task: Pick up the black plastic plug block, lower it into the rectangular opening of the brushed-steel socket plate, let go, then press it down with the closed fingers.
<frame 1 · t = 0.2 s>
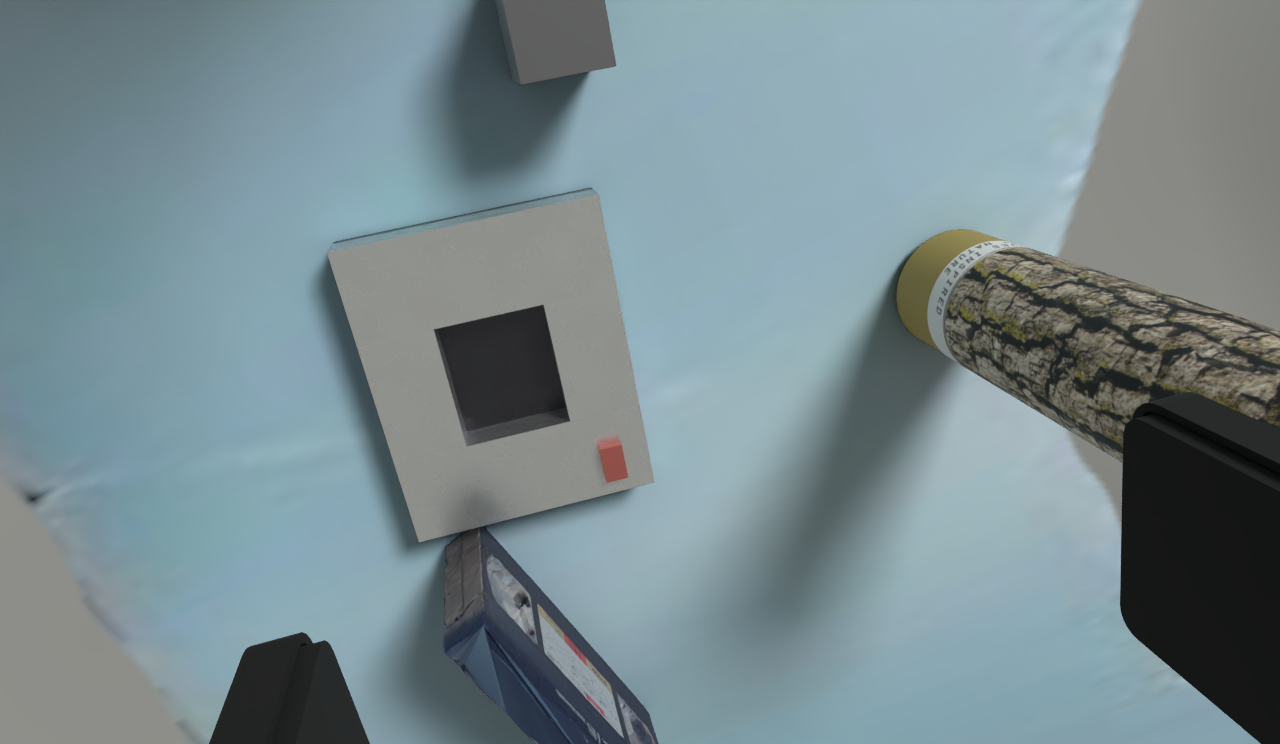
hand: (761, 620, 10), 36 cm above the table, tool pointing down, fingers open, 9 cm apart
vhs cassette tape: (553, 630, 53), on the table
paper tube: (943, 284, 50), on the table
socket plate: (502, 361, 46), on the table
plug: (541, 18, 41), on the table
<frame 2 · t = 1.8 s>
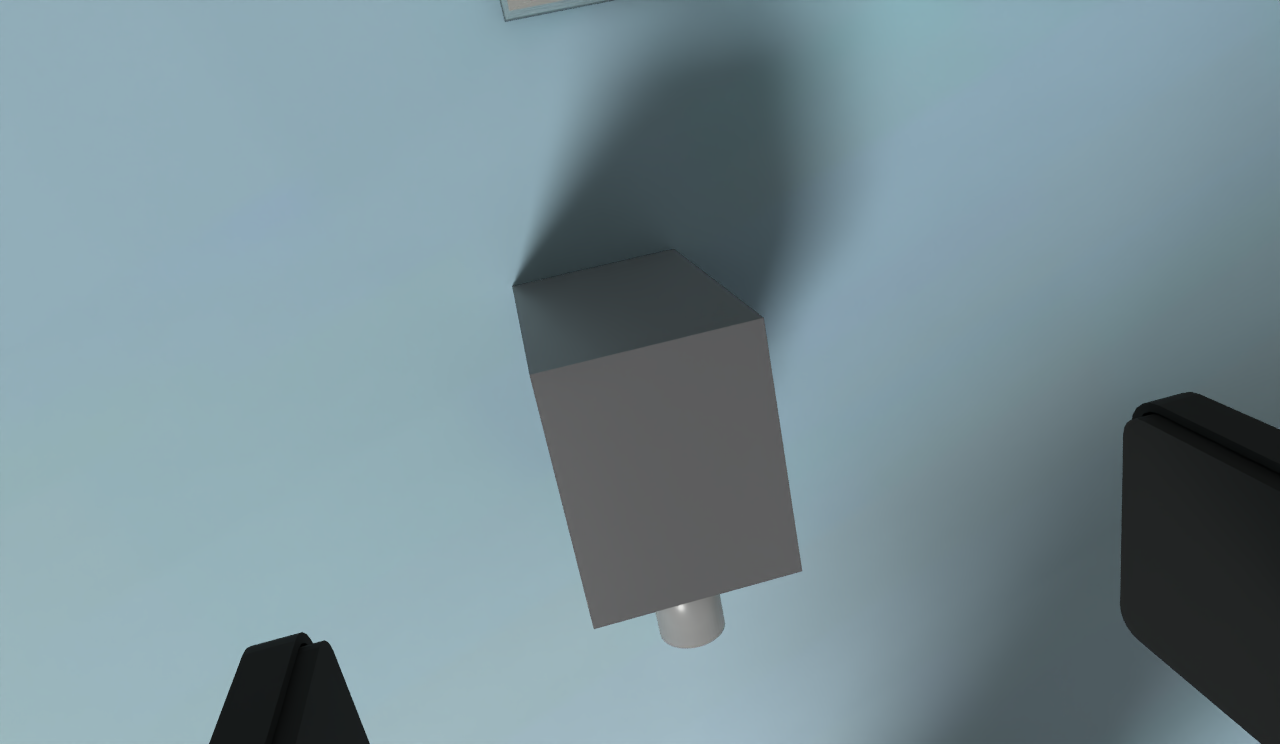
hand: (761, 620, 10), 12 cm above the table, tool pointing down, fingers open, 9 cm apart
plug: (614, 363, 22), on the table
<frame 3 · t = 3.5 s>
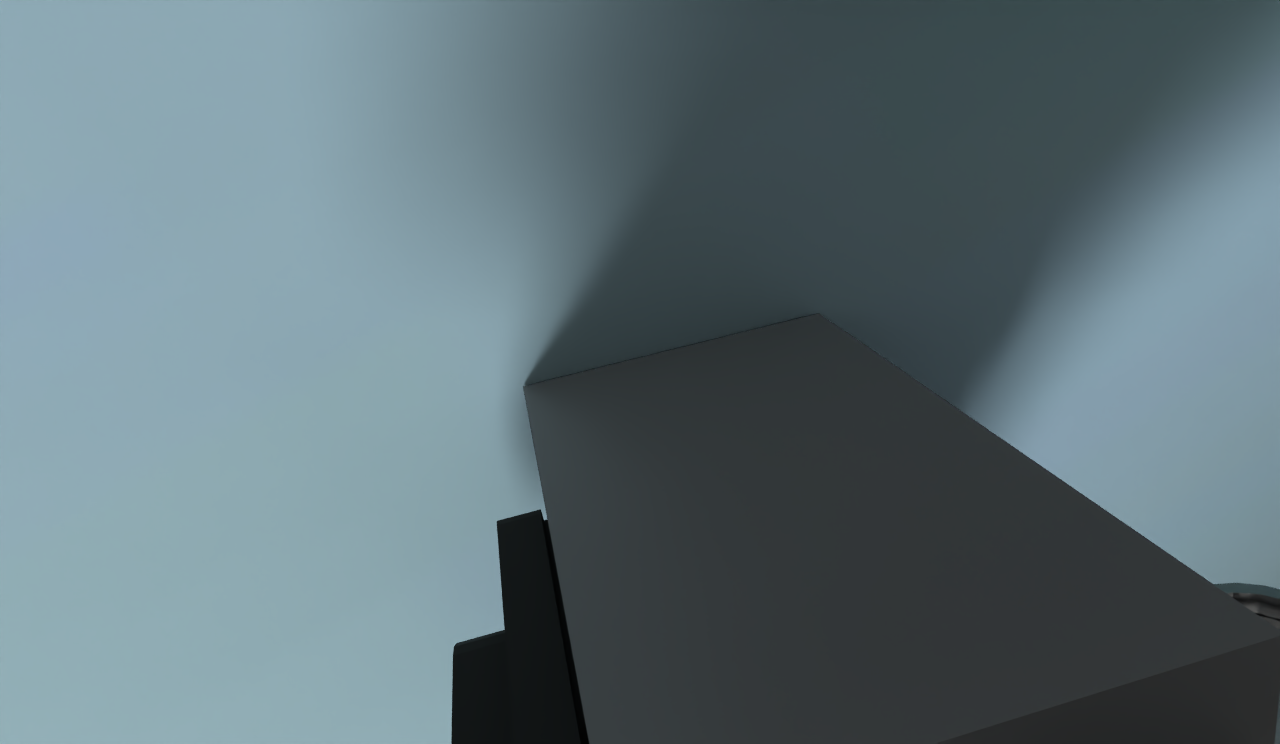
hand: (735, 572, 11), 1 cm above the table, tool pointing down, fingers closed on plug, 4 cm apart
plug: (704, 513, 12), on the table, touching gripper
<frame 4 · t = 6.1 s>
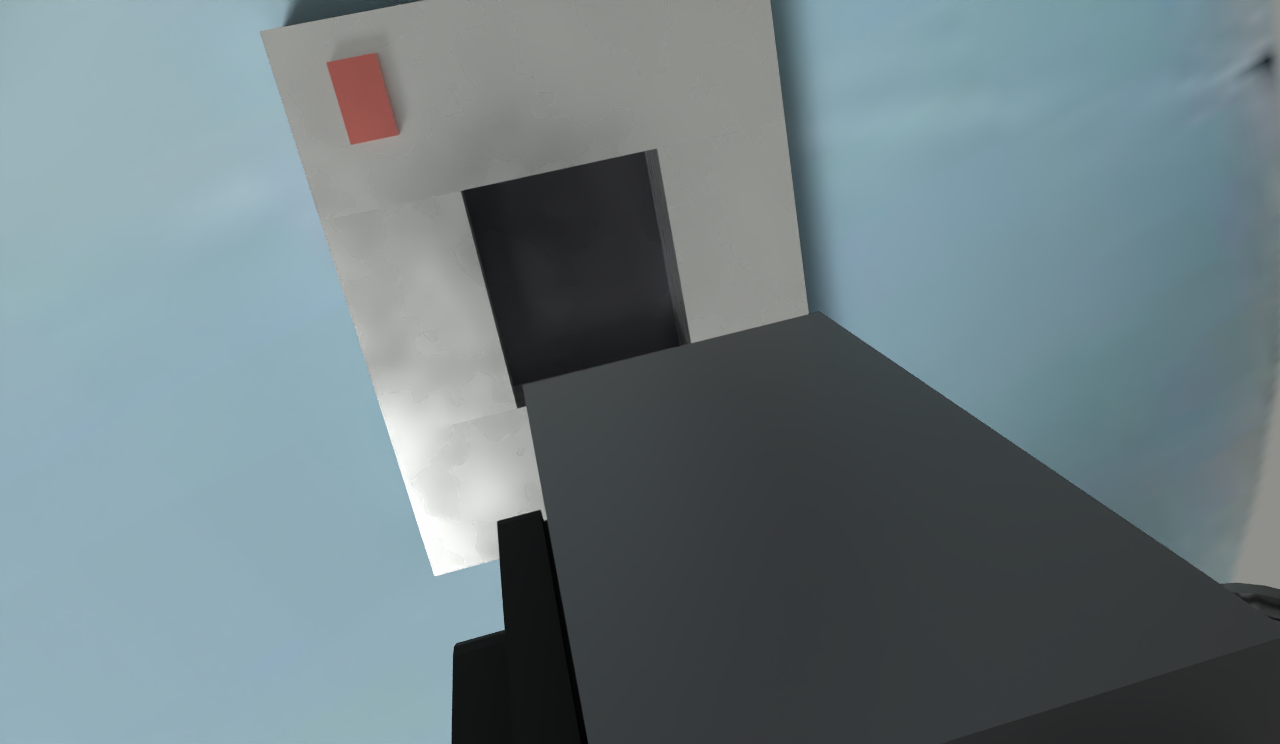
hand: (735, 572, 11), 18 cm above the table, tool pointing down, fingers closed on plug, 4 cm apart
socket plate: (574, 265, 27), on the table
plug: (704, 513, 12), point 16 cm above the table, touching gripper
when the fingers open (3 cm above the table, at t = 9.1 s): plug drops 2 cm, resting on socket plate.
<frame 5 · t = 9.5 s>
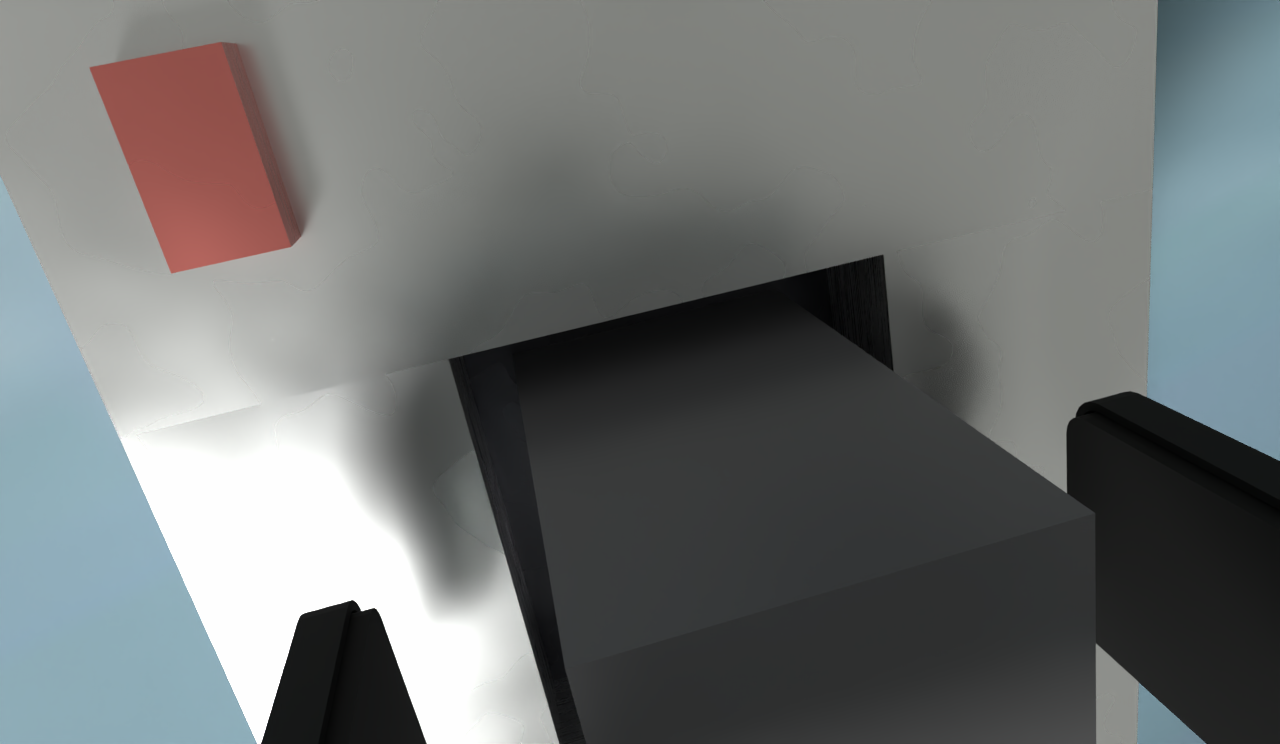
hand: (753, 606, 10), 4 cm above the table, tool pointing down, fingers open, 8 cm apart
socket plate: (672, 455, 14), on the table
plug: (676, 470, 13), resting on socket plate
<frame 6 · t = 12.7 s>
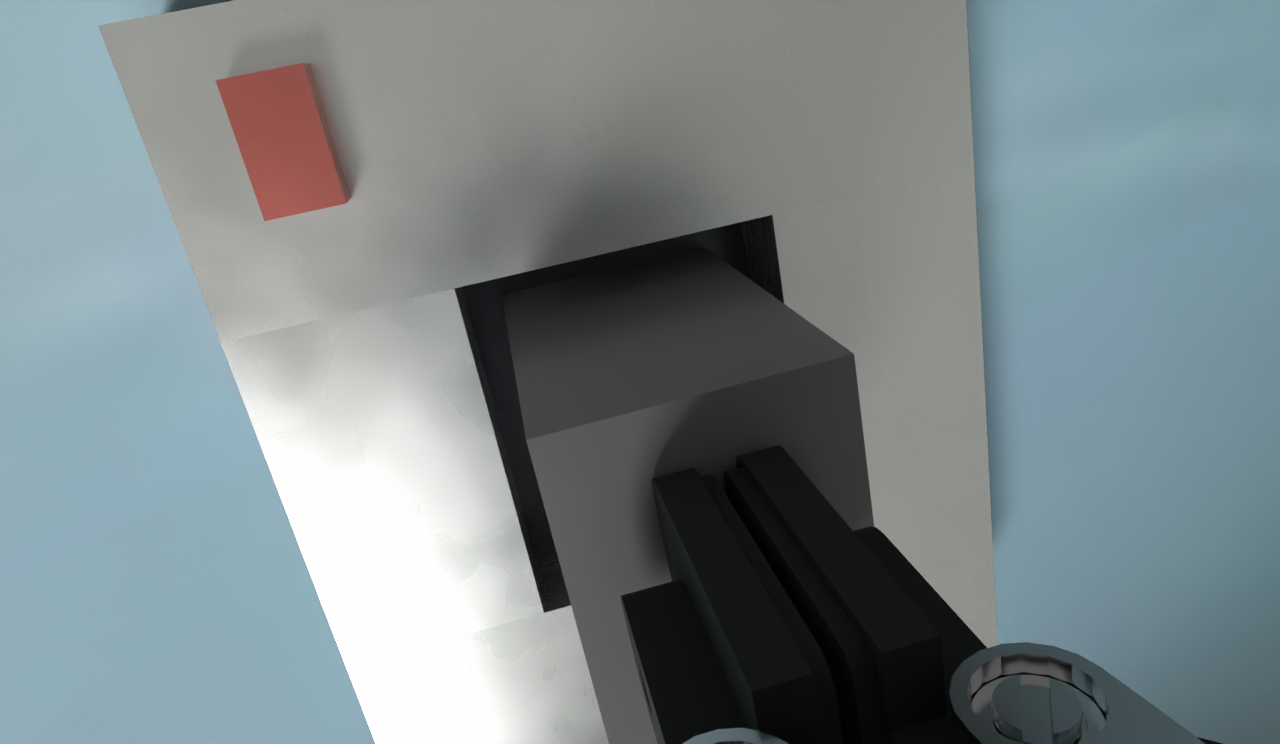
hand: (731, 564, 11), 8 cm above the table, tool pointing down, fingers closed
socket plate: (627, 379, 18), on the table
plug: (629, 388, 17), resting on socket plate, touching gripper
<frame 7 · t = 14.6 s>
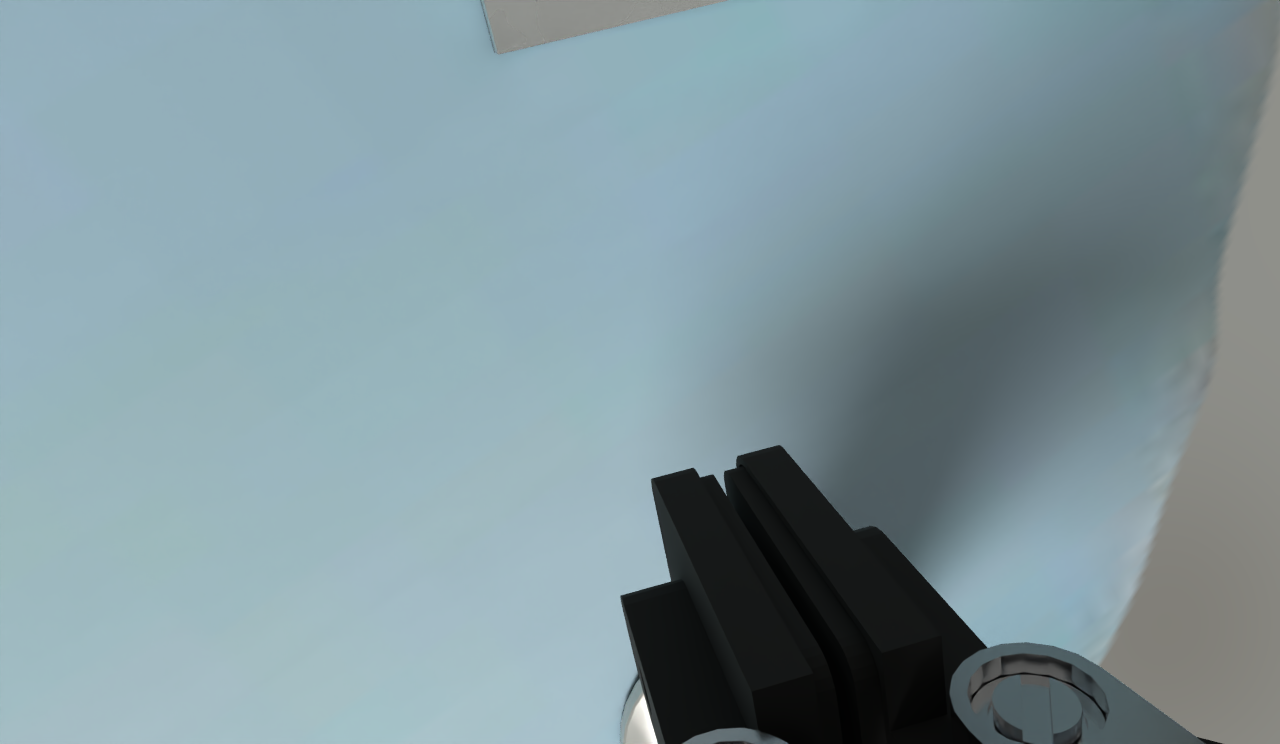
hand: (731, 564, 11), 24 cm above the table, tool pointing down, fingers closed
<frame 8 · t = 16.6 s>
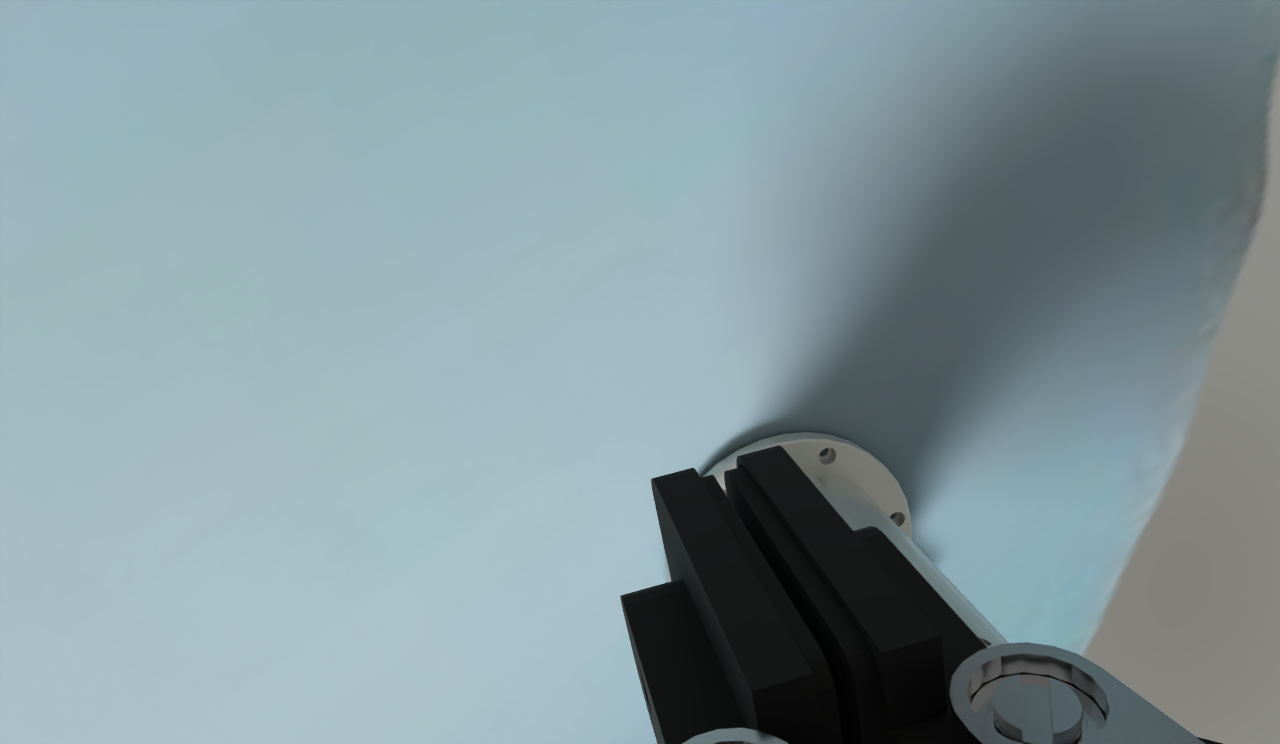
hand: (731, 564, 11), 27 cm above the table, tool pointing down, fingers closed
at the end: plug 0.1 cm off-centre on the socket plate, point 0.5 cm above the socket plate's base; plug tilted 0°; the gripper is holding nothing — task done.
